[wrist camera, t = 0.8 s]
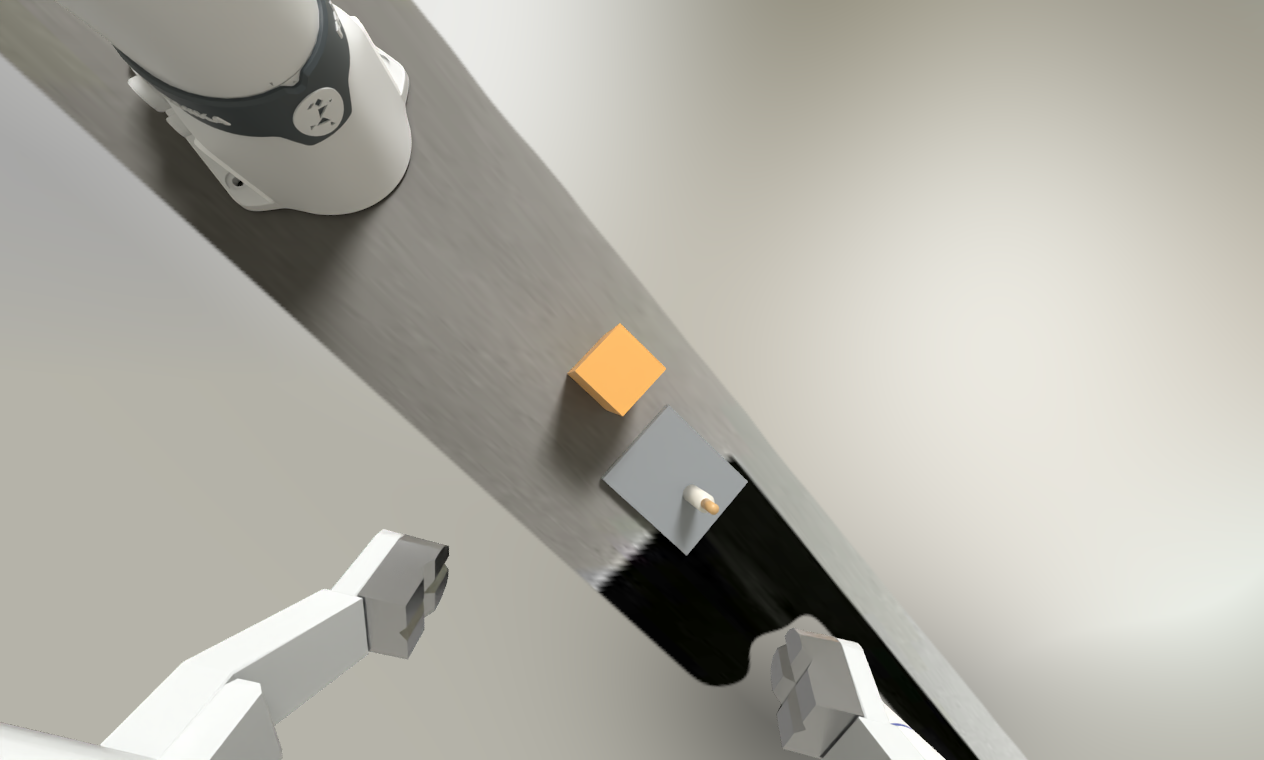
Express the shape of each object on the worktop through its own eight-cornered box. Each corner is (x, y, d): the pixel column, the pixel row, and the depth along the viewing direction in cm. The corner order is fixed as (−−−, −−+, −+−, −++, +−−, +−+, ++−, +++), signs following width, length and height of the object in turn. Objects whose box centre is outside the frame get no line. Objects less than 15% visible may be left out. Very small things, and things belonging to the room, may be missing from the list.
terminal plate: (601, 477, 45) (602, 479, 44) (666, 404, 46) (668, 405, 45) (683, 552, 47) (686, 555, 46) (743, 479, 48) (747, 481, 47)
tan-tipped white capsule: (679, 494, 46) (700, 510, 40) (690, 480, 46) (713, 495, 40) (691, 505, 46) (714, 523, 40) (702, 492, 46) (727, 507, 40)
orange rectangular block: (567, 373, 44) (574, 370, 35) (603, 335, 45) (620, 323, 36) (606, 410, 45) (622, 416, 36) (641, 371, 46) (666, 368, 37)
